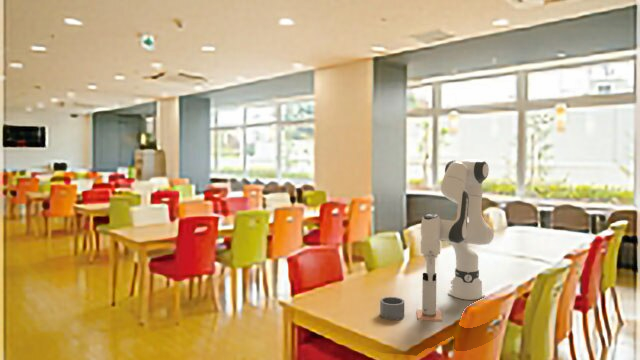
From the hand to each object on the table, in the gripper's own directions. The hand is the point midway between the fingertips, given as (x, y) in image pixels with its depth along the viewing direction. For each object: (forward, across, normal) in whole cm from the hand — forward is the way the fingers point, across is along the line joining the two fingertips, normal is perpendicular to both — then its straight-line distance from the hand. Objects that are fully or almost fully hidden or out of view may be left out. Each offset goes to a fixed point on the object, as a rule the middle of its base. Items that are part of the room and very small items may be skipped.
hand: (429, 278), depth 212 cm
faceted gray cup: (+18, -2, +17) cm, 25 cm away
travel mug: (+17, 0, 0) cm, 17 cm away
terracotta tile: (+18, 0, 0) cm, 18 cm away
